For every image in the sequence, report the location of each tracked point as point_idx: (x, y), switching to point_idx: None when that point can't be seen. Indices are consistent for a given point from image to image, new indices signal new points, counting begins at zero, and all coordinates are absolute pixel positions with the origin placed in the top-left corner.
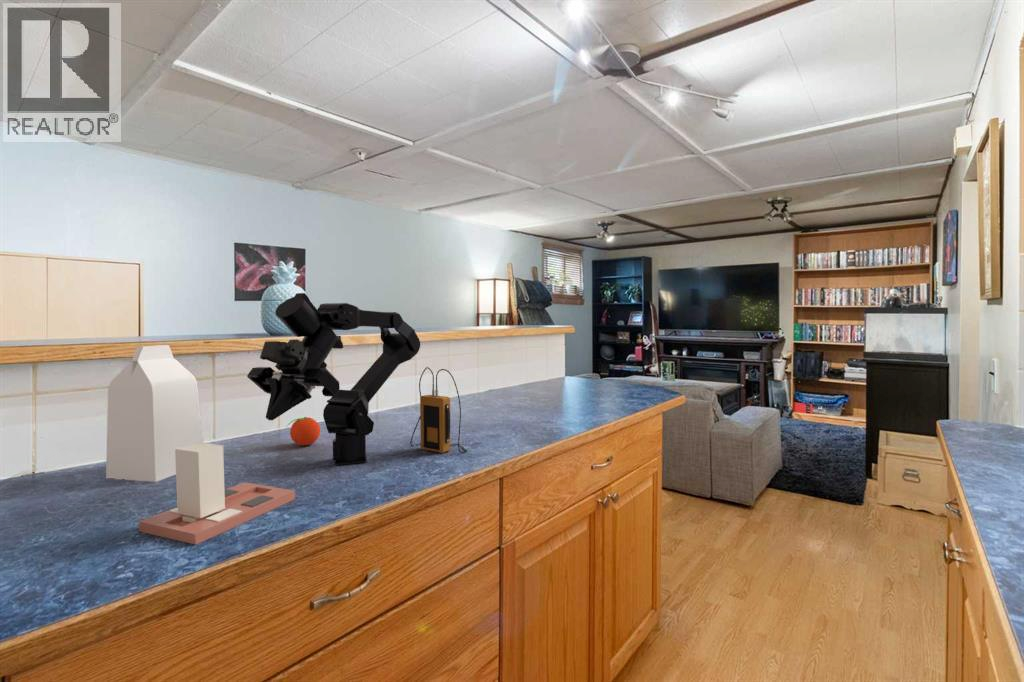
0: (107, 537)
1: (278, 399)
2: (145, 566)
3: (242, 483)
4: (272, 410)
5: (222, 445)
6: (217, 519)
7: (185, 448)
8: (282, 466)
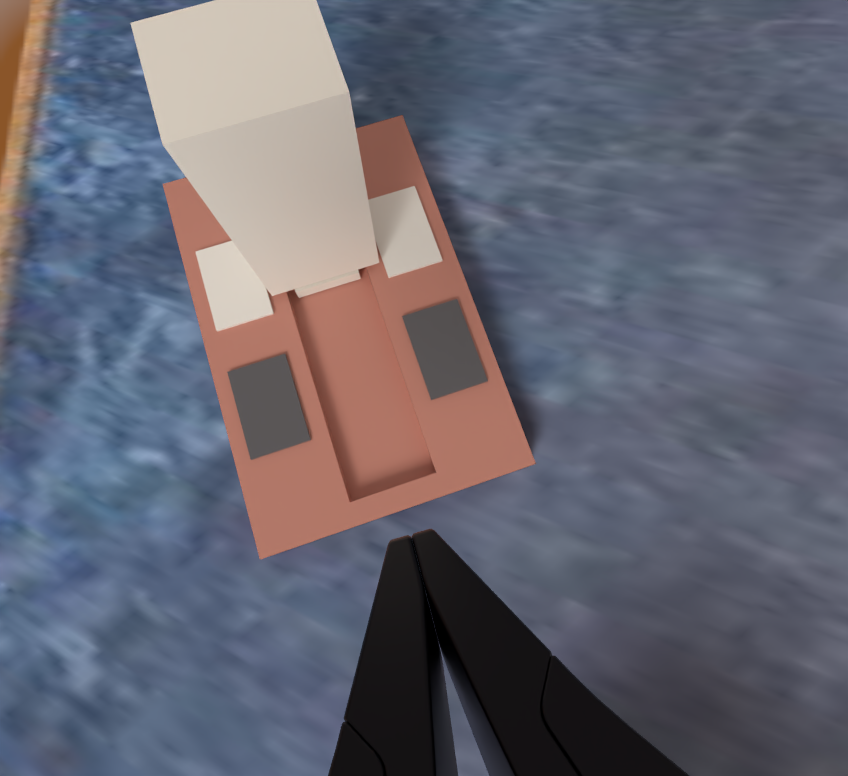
0: (425, 80)
1: (379, 724)
2: None
3: (525, 451)
4: (381, 590)
5: (167, 143)
6: (209, 254)
7: (269, 6)
8: (758, 741)
